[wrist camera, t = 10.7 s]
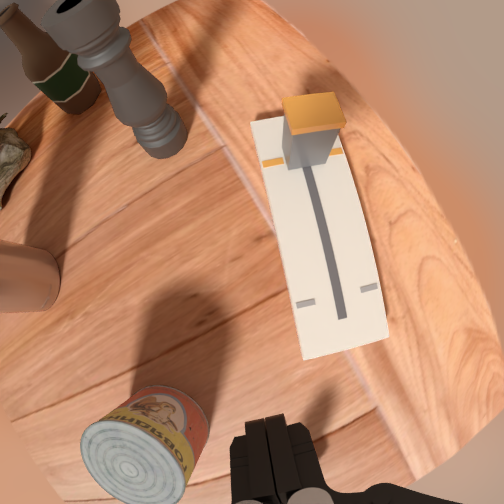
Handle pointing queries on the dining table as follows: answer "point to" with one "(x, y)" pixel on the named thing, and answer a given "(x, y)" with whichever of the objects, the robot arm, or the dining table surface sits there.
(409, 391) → the dining table surface
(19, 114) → the dining table surface
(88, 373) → the dining table surface
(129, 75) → the candle holder
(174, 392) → the canned food
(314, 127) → the fader knob
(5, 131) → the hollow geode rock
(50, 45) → the beer bottle
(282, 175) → the fader console
